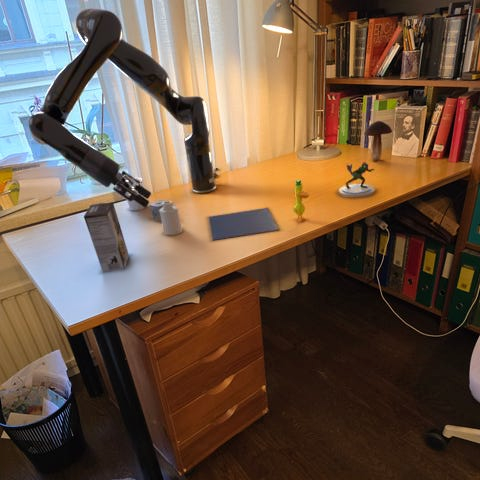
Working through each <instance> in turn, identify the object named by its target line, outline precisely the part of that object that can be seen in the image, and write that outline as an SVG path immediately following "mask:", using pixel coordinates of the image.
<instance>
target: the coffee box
mask: <svg viewBox="0 0 480 480" xmlns="http://www.w3.org/2000/svg"><path fill="white" fill-rule="evenodd" d="M83 218H84V221H85V224H86V228H87V230H88V233H89V236H90V239H91V242H92V246H93V248H94V251H95V254H96V257H97V260H98V263H99V266H100V269H101V271H102V273H108V272H114V271H115V272H116V271H122V270H125V269H126V267H127V262H128V259H129V256H130V254H129V251H128V250H129V249H128V248H127V244H126V240H125V236H124V234H123V231H122V228H121V227H122V226H121V224H120V220H119V217H118V214H117V211H116V207H115V205H114V201H112V202H101V203H94V204H90V205H89V207H88V208H87V210H86V212H85V213H84V215H83Z"/></svg>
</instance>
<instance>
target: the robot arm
mask: <svg viewBox="0 0 480 480" xmlns="http://www.w3.org/2000/svg"><path fill="white" fill-rule="evenodd" d="M75 28H76V32H77V34H78V36H79V39H80V40H81V41H82V42H83V43H84V44H85V45H84V46H83V47H82V50H80V52H79V53H78V54H77V55H76V56H75V57H74V58H73V59H72V60H71V61H69V63H68V64H66V66H64V67H63V68H62V69H61V70H60V71H59V73H58V74H57V75H56V76H55V78H54V80H53V82H52V83H51V85H50V87H49V88H48V90H47V92H46V94H45V97H44V101H43V105H42V106H41V108H40V110H39V112H34V113H33V114H32V115H31V116H30V117H29V119H28V129H29V132H30V135H31V136H32V138H33V140H34V141H35V142H36V143H38V144H39V145H43V146H48V147H51V148H52V149H54V151H57V152H58V153H59V154H60V155H61V156H62V157H63V158H64V159H65V160H66V161H68V162H69V163H70V164H72V165H73V166H75V167H77V168H79V170H81V171H82V172H83V173H85V174H86V175H87V176H89V177H90V178H92V179H93V180H95V181H96V182H98V183H99V184H100V185H102V186H103V187H105V188H109V187H110V186H111V185H113V187H112V190H113V192H115V193H117V194H119V195H120V196H121V197H123V198H124V199H127V200H129V201H134V200H135V201H136V202H137V203H139V204H140V205H142V206H143V207H145V208H147V207H148V206H149V204H150V200H148V199H149V198H150V197H151V195H152V192H151V191H149V190H148V189H147V188H145V187H144V186H143V187H142V186H141V184H140V182H139V181H138V180H137V179H135V178H136V177H134V176H133V175H131V174H129V173H128V172H126V171H125V170H122V171H121V172H120V169H121V164H119V163H117V162H116V161H115V160H114V159H112V158H111V157H109V156H107V155H106V154H104V153H103V152H102V151H100V150H99V149H97V148H95V147H93V146H91V145H90V144H89V143H88V142H86V141H85V140H83V139H81V138H80V137H78V136H77V135H76V134H74V133H73V132H72V131H71V130H69V129H68V127H66V126H65V124H66V121H67V119H68V117H69V116H70V114H72V111H73V109H74V108H75V106H76V105H77V103H78V101H79V99H80V98H81V96H82V94H83V93H84V91H85V89H86V88H87V86H88V84H89V83H90V82H91V80H93V78H94V77H95V75H96V74H97V72H98V71H100V69H101V68H102V66H103V65H104V64H105V63H106V61H109V62H110V63H112V64H113V65H114V66H115V67H116V68H117V69H119V71H120V72H122V73H123V74H124V75H125V76H126V77H128V78H129V80H131V81H132V82H133V83H134V84H135V85H137V87H139V88H140V89H141V90H143V92H145V93H146V94H148V95H149V96H150V97H151V98H153V99H154V100H155V101H156V102H157V103H158V104H160V105H161V106H162V107H163V108H164V109H165V110H166V111H167V112H168V113H169V115H171V116H172V117H173V118H174V120H175V121H177V123H179V124H180V125H182V126H191V133H190V134H189V135H187V136H185V137H184V139H183V143H184V149H185V154H186V160H187V165H188V170H189V171H188V172H189V177H190V182H191V187H192V189H191V190H192V192H193V193H195V194H206V193H207V194H208V193H211V192H214V191H216V189H217V186H216V180H215V179H217V177H218V173H217V172H214V170H213V167H214V166H213V159H212V153H211V146H210V125H209V114H208V108H207V103H206V102H205V99H204V98H203V97H201V96H197V95H196V96H183V95H180V94H179V93H178V92H176V91H175V90H174V89H173V88H172V85H171V79H170V76H169V74H168V72H167V71H166V70H165V68H164V67H163V66H162V65H160V63H159V62H158V61H157V60H155V59H154V58H153V57H152V56H151V55H150V54H148V53H146V52H145V51H143V50H141V49H140V48H138V47H136V46H134V45H132V44H131V43H129V42H128V41H126V40H124V39H123V32H124V31H123V26H122V22H121V20H120V19H119V17H118V15H116V14H115V13H114V12H113V11H110V10H107V9H102V8H101V9H100V8H86V9H83V10H81V11H79V13H78V14H77V16H76V18H75ZM215 170H216V171H219V167H217V168H216V169H215ZM137 191H138V193H139V194H138V193H137ZM140 194H141V195H142V196H141V195H140ZM143 196H144V197H143ZM127 200H126V201H127Z"/></svg>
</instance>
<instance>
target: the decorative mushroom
mask: <svg viewBox="0 0 480 480" xmlns="http://www.w3.org/2000/svg"><path fill="white" fill-rule="evenodd" d="M392 133H393V130H392V128H391V126H390V125H389V124H387V123H385V122H384V121H381V120H377V121H373V122H372V123H370V125H368V126H367V127H366V129H365V130H364V132H363V135H364V136H368V137H373V138H372V143H371V150H370V159H371V160H373V161H378V160H380V159H381V157H382V152H383V151H382V149H383V147H382V145H383V142H382V135H387V134H392Z"/></svg>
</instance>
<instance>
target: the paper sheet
mask: <svg viewBox="0 0 480 480" xmlns="http://www.w3.org/2000/svg"><path fill="white" fill-rule="evenodd" d="M208 220H209V226H210V231H211V237H212V241H217V240H225V239H230V238H237V237H244V236H251V235H258V234H263V233H270V232H276V231H280V228H279V227H278V224H277V223H276V221H275V219H274V218H273V215H272V214H271V212H270V210H269V208H268V207H264V208H258V209H250V210H245V211H238V212H231V213H225V214H220V215H218V214H217V215H211V216H208Z"/></svg>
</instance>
